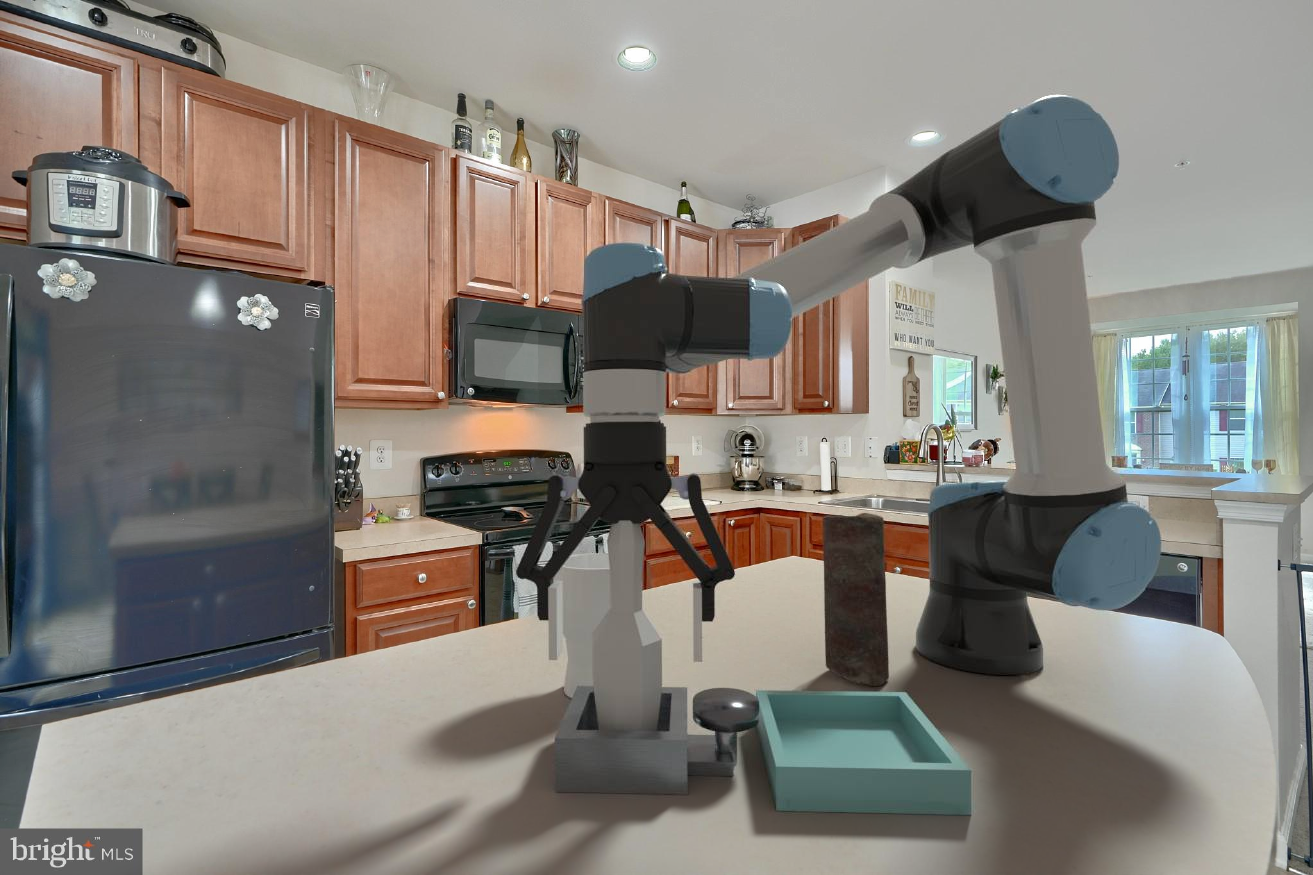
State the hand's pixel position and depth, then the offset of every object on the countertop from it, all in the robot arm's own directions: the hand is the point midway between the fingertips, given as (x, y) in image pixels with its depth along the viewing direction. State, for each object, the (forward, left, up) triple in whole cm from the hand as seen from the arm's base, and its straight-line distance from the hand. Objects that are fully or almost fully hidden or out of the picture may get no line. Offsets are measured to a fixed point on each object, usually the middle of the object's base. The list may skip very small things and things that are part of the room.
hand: (626, 656), depth 59 cm
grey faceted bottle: (0, 0, -10) cm, 10 cm away
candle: (-26, -21, -10) cm, 35 cm away
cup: (+5, -16, -10) cm, 19 cm away
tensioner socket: (-3, 0, -9) cm, 10 cm away
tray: (-20, 0, -9) cm, 22 cm away
